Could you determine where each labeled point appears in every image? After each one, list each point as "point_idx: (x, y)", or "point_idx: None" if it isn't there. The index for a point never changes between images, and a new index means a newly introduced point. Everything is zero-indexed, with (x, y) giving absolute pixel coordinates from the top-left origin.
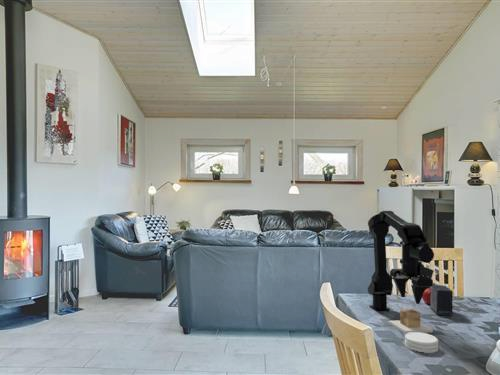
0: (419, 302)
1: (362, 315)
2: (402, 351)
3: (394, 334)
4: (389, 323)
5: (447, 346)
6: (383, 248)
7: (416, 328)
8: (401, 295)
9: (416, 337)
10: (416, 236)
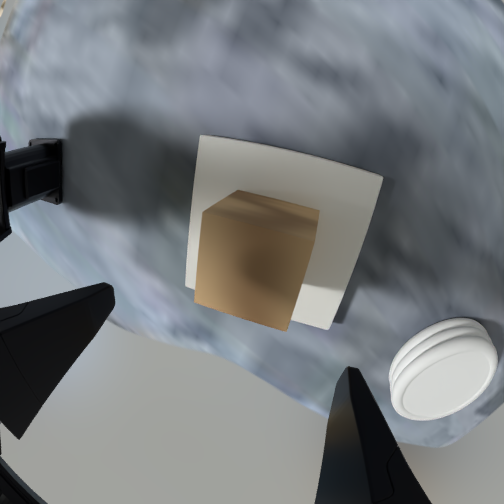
0: (360, 380)
1: None
2: None
3: (311, 356)
4: None
5: (499, 277)
6: None
7: (328, 252)
8: (105, 317)
9: (436, 400)
10: None
